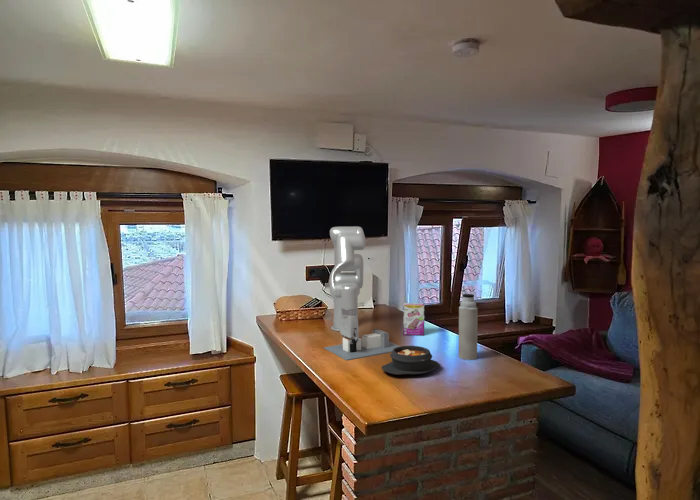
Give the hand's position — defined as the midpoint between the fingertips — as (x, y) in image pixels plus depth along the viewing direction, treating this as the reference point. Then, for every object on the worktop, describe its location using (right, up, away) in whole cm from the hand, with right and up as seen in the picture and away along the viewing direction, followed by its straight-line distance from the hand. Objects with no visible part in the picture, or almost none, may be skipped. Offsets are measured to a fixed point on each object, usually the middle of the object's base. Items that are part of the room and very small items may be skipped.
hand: (350, 350), depth 213 cm
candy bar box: (+34, +2, +30) cm, 45 cm away
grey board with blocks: (+7, 0, +4) cm, 8 cm away
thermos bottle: (+52, -1, -10) cm, 53 cm away
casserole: (+25, -3, -27) cm, 37 cm away
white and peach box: (+1, -1, +1) cm, 1 cm away
